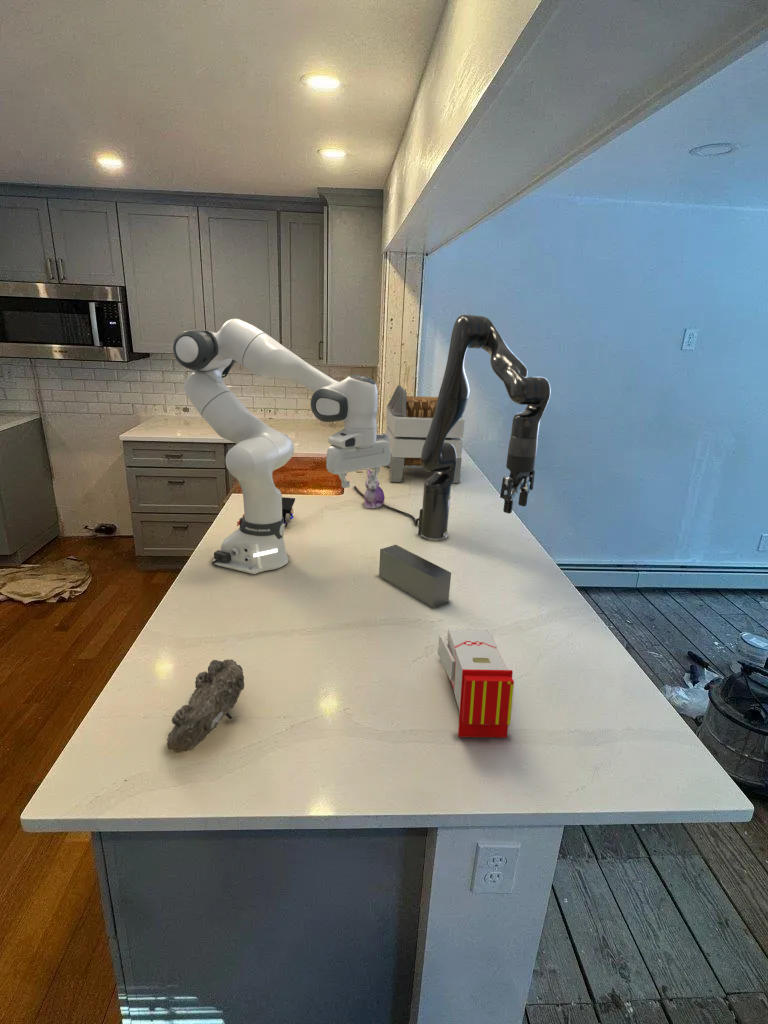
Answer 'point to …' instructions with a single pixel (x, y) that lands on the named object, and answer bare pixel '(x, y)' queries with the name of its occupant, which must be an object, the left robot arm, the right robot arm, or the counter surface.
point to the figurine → (373, 493)
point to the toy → (478, 682)
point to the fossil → (206, 705)
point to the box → (415, 575)
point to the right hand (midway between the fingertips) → (514, 509)
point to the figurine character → (287, 509)
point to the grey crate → (415, 432)
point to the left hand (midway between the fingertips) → (358, 484)
